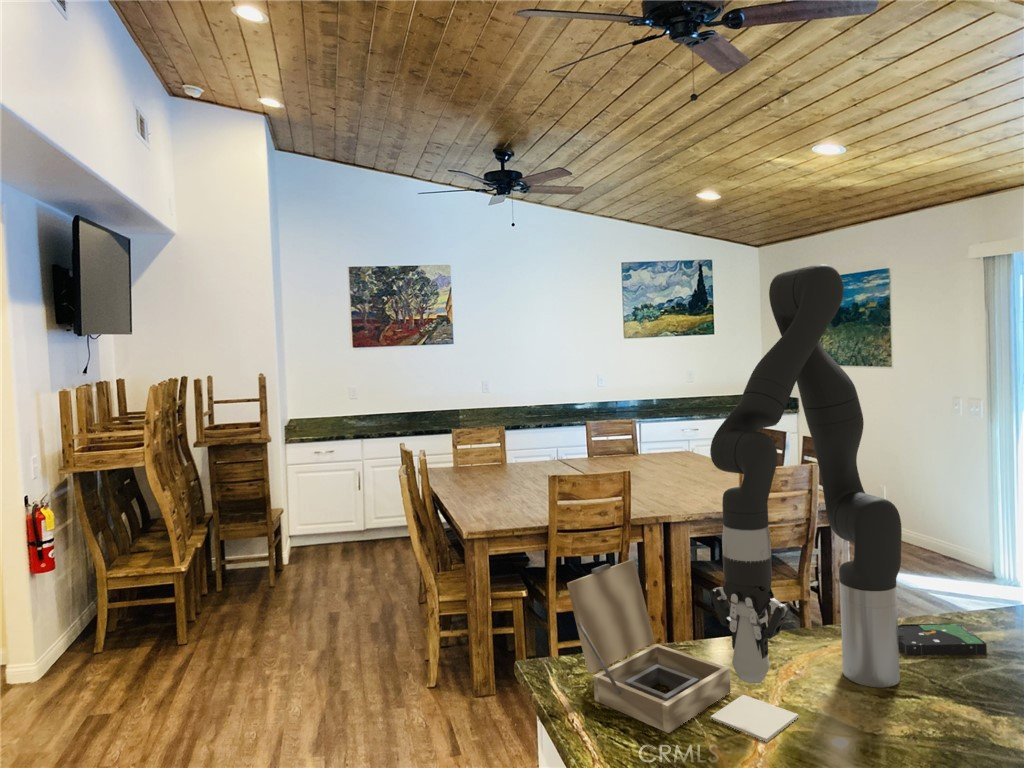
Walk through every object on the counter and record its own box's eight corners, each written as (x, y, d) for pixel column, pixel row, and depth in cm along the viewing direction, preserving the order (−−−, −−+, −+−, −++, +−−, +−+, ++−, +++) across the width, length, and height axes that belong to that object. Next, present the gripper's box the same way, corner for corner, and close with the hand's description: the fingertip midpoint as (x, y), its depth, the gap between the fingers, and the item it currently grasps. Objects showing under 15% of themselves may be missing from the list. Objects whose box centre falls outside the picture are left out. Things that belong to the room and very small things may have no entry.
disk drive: (906, 659, 136) (988, 657, 134) (906, 645, 136) (988, 642, 134) (883, 637, 146) (959, 634, 145) (882, 624, 146) (958, 621, 145)
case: (647, 662, 139) (644, 593, 139) (730, 693, 126) (727, 616, 125) (580, 698, 127) (576, 622, 126) (664, 736, 113) (660, 651, 112)
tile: (743, 697, 124) (743, 694, 124) (798, 717, 116) (798, 714, 116) (710, 719, 117) (710, 716, 117) (766, 742, 110) (766, 738, 110)
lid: (655, 641, 138) (650, 641, 139) (633, 555, 140) (628, 555, 141) (592, 673, 126) (587, 673, 127) (569, 578, 128) (565, 578, 129)
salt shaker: (774, 685, 113) (772, 605, 113) (738, 687, 114) (736, 607, 113) (762, 669, 119) (760, 593, 119) (728, 670, 119) (725, 594, 119)
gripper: (799, 555, 113) (802, 662, 113) (721, 540, 123) (725, 638, 124) (774, 566, 108) (778, 677, 109) (696, 549, 118) (700, 651, 119)
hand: (750, 655), depth 116 cm, fingers closed on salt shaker, 3 cm apart
